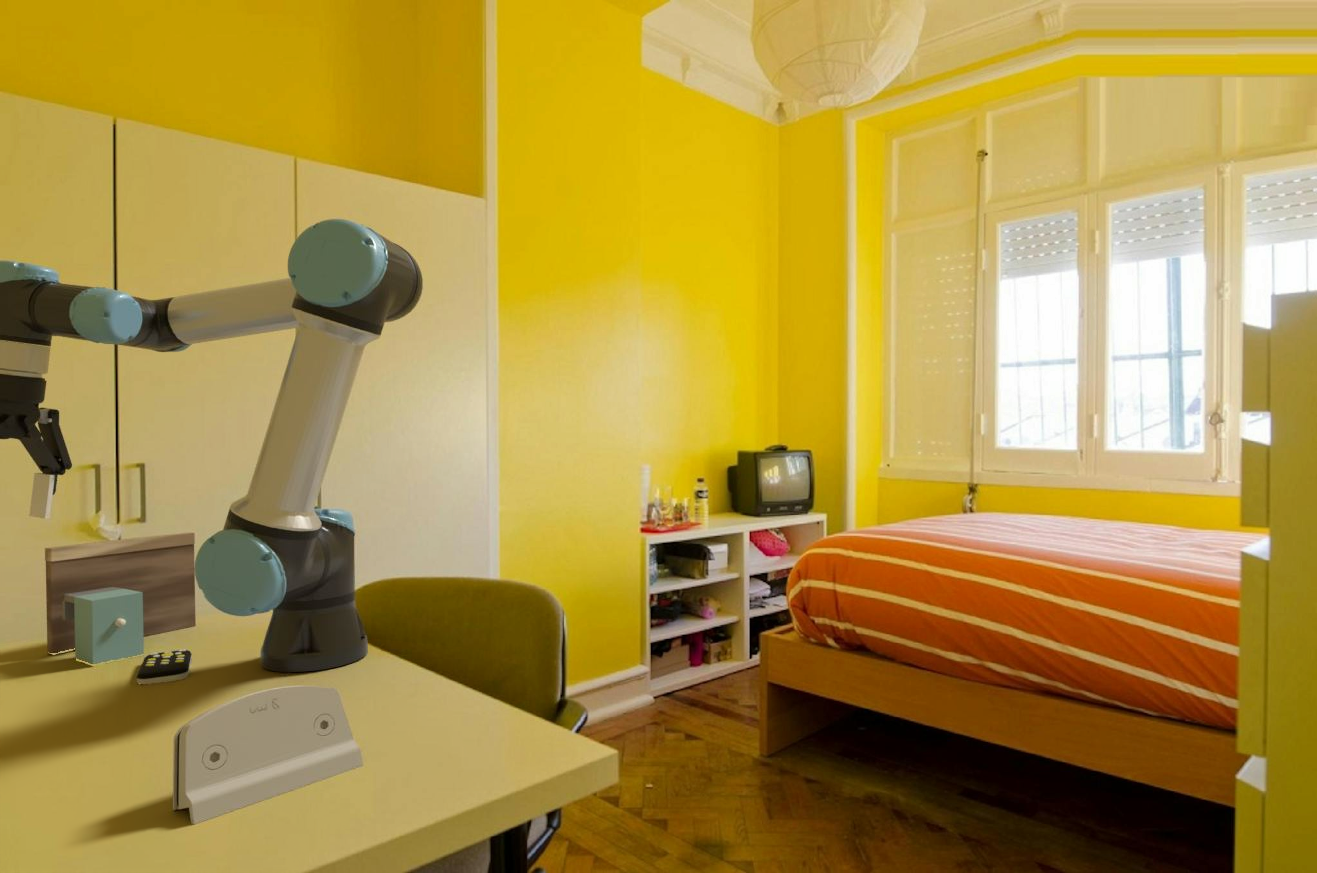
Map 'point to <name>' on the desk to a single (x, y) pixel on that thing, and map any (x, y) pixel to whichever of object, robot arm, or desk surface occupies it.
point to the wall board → (124, 581)
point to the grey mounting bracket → (260, 749)
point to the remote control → (165, 667)
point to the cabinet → (106, 623)
